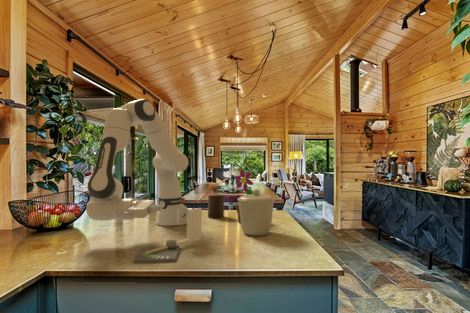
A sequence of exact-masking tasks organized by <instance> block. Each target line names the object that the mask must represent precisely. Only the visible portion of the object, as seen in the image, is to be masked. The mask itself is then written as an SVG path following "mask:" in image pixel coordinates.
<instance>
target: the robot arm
mask: <svg viewBox="0 0 470 313" xmlns="http://www.w3.org/2000/svg"><path fill="white" fill-rule="evenodd" d="M137 125H141V127H142V129H143V132H144V135H145V137H146V139H147V141H148V144H149V145H150V147H151V149H152V150H154V151H155V152H156V153H157V154H156V155H155V156H154V157H153V158H152V165H153V167H154V169H155V171H156V174H157V178H158V182H159V183H158V185H159V188H158V189H159V197H158V199H157V200H158V201H157V202H158V204H156V202H155V200H152V199H138V198H135V197H132V198H122V197H123V192H124V185H123V184H122V182H121V181H120V180H118V179H117V178H115V177H114V174H113V170H114V164H115V159H116V155H117V153H118V152H120V151H123V150H124V149H126V148H127V147H128V145H129V141H130V135H131V127H132V126H137ZM97 154H98V155H97V158H96V164H95V167H94V171H93V173H92V175H91V176H90V177H89V179H88V181H87V191H88V193H89V195H90V196H92V198H91V199H90V200H89V201H88V202H87V203H86V207H85V210H86V214H87V216H88V218H89V219H91V220H92V221H93V220H94V221H99V222H100V221H101V222H102V221H103V222H105V221H106V222H107V221H112V220H118V221H129V220H131V221H132V220H133V219H144V218H147V217H148V215H149V214H151V213H153V212H157V217H156V220H155V224H156V225H158V226H163V227H164V226H165V227H168V226H183V225H187V210H190V208H188V207H187V206H186V205H185V204H183V202H184V201H186V197H185V196H184V197H183V196H181V183H180V181H179V180H178V177H177V175H176V173H181V172H183V171H185V170H186V169H187V168H188V166H189V158H188V156H186V155H185V153H183V152H182V151H180V149H179V148H178V147H177V146H176V144H175V143H174V141H173V140H172V139H171V137H170V134H169V132H168V130H167V127H166V125H165V123H164V121H163V120H162V118H161V117H160V115H159V113H158V112H157V110H156V109H155V106H154V105H153V103H152V102H151V101H150V100H149V99H147V98H139V99H136V100H133V101H130V102H128V103H125V104H123V105H121V106H119V107H117V108H112V109H109V111H108V113H107V114H106V118H105V121H104V126H103V132H102V140H101V143H100V146H99V150H98V153H97Z"/></svg>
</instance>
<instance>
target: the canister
mask: <svg viewBox="0 0 470 313" xmlns="http://www.w3.org/2000/svg"><path fill="white" fill-rule="evenodd" d="M252 191H253V194H250V195H249V194H248V195H247V194H244V195H241V196H239V197H238V198H236V199H237V202H238V203H239V210H240V219H241V223H240V226H241V230H242V232H243V233H244V234H245V235H248V236H255V237H259V236H260V237H261V236H265V235H268V234H269V233H270V231H271V228H272V227H271V226H272V221H273V214H274V213H273V210H274V204H275V203H274V202H275V201H276V199H275V198H273V196H271V195H267V194H260V193H261V191H260V189H257V188H255V189H253V190H252Z"/></svg>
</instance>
